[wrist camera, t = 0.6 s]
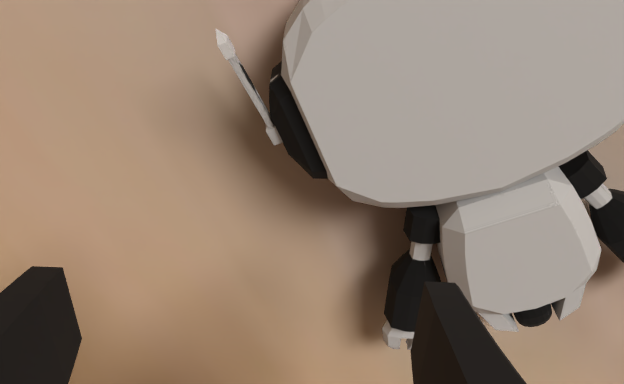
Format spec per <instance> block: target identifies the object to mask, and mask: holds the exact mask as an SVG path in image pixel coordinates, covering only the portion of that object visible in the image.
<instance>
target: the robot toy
mask: <svg viewBox="0 0 624 384" xmlns="http://www.w3.org/2000/svg"><path fill="white" fill-rule="evenodd" d="M216 36H217V44H218V47H219V49H220V51H221V52H222V54H223V56H224V57H225V59H226V60H229V62H230V64H231V65H232V67H233V69H234V71H235V72H236V74H237V76H238V77H239V79H240V81H241V82H242V84H243V86H244V87H245V89H246V91H247V93H248V94H249V96H250V98H251V99H252V101H253V103H254V104H255V106H256V108H257V110H258V111H259V113H260V115H261V116H262V118H263V120H264V121H265V123H266V133H267V134H268V136H269V138H270V139H271V141H272V143H273V144H274V145H277V144H280V143H282V142H283V143H284V146H285V148H286V150H287V152H288V154H289V155H290V156H291V157H292V158H293V159H294V160H295V161H296V162H297V163H298V164H299V165H300V166H301V167H302V168H303V169H304V170H305V171H306V172H307V173H308V174H309V175H310V176H311V177H312V178H324V179H329V180H330V181H331V182H332V183H333V184H334V185H336V186H337V187H338V188H339V189H340V190H341V191H342V192H343V193H344V194H346V195H347V196H348V197H349V198H350V199H351V200H352V201H355V202H360V203H365V204H370V205H374V206H379V207H384V208H406V207H407V211H406V217H405V223H404V229H403V231H404V232H405V234H406V235H407V237H408V239H409V240H410V241H412V242H411V248H410V249H409V250H408V251H407V252H406V253H404V254H403V255H402V256H401V257H400V258H399V259H398V260H397V261H396V262H395V263H394V264H393V265H392V268H391V273H390V278H389V284H388V291H387V297H386V304H385V310H384V314H385V316H386V318H387V321H386V322H385V324H384V326H383V328H382V332H383V339H384V341H385V343H386V344H387V345H388V347H390V348H393V349H400V341H401V338H407V340H406V343H407V349H409V350H411V347H412V342H413V337H414V332H415V327H416V322H417V317H418V312H419V307H420V302H421V297H422V292H423V287H424V282H441V280H440V277H439V274H438V272H437V269H436V266H435V264H434V262H433V259H432V257H431V250H432V245H433V244H435V243H437V247H438V251H439V255H440V259H441V262H442V265H443V269H444V272H445V276H446V279H447V282H449V283H456V284H457V285H458V286H459V288H460V289H461V291H462V292H463V294H464V296H465V297H466V299H467V300H468V302H469V303H470V305H471V307H472V308H473V310H474V311H475V312H477V313H479V314H480V315H481V316H482V317H483V318H484V319H485V320H486V321H487V322H488V323H489V324H490V325H491V326H492V327H493V328H494V329H495V330H503V331H517V332H519V330H518V328H517V326H516V323H515V321H514V318H513V316H512V313H514V315H515V318H516V319H517V321H518V322H519V324H521V325H523V326H528V327H534V326H539V325H541V324H544V323H545V322H546V321H548V320H549V318H550V317H551V315H552V309H551V305H552V307H553V309H554V311H555V313H556V315H557V317H558V319H559V320H561V319H563V318H564V317H566V316H567V315H569V314H570V313H572V312H573V311H575V310H576V309H578V308H579V307H580V304H581V300H582V297H583V293H584V289H585V286H586V282H587V281H588V280H589V279H590V278H591V276H592V275H593V274H594V273H595V271H596V270H597V266H598V262H599V258H600V254H601V247H600V244H599V241H598V238H599V239H600V240H601V241H602V242H603V243H604V244H605V245H606V246H607V247H608V248H609V249H610V250H611V251H612V252H613V253H614V254H615V255H616V256H617V257H618V258H619V259H620V260H621V261H622V262H624V191H619V190H615V189H607V187H606V186H605V185H604V184H603V182H604V181H605V180H606V179H607V178H606V175H605V172H604V169H603V166H602V165H601V164H600V163H599V162H598V161H597V160H596V159H595V158H594V157H593V156H592V155H591V154H590V153H589V151H588V150H589V149H590V148H592V147H594V146H595V145H597V144H599V143H600V142H602V141H603V140H604V139H606V138H607V137H609V136H610V135H611V134H613V133H614V132H616V131H617V130H618V129H619V128H620V127H621V126H622V125H623V124H624V0H299V2H298V4H297V5H296V7H295V9H294V10H293V12H292V14H291V15H290V17H289V19H288V20H287V22H286V26H285V32H284V37H283V48H282V61H281V62H280V63H279V64H278V65H277V66H276V67H274V68H273V70H272V75H271V80H270V87H269V104H270V113H269V111H268V110H267V108H266V106H265V104H264V103H263V101H262V99H261V97H260V96H259V94H258V92H257V90H256V89H255V87H254V85H253V83H252V82H251V80H250V78H249V76H248V75H247V73H246V71H245V69H244V68H243V66H242V64H241V62H240V61H239V59H238V57H237V55H236V54H235V48H234V46H233V45H232V43H231V41H230V39H229V38H228V36H227V34H225V33H223V32H221V31H219V30H217V29H216ZM582 198H584V199H585V200H586V201H587V202H588V203H589V204H590V213H591V219H590V217H589V215H588V213H587V211H586V209H585V207H584V204H583V202H582V201H581V199H582ZM591 220H592V222H591ZM592 223H593V224H592ZM597 237H598V238H597ZM550 303H551V304H550Z"/></svg>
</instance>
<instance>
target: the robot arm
mask: <svg viewBox="0 0 624 384" xmlns="http://www.w3.org/2000/svg"><path fill="white" fill-rule="evenodd" d="M81 339H82V337H81V334H80V330H79V326H78V323H77V319H76V315H75V312H74V308H73V304H72V300H71V297H70V293H69V289H68V286H67V282H66V278H65V275H64V271H63V268H60V267H34V266H32V267H31V268H29V269H28V270H27V271H26V272H24V273H23V274H22V275H21V276H20V277H18V278H17V279H16V280H15V281H14V282H13V283H11V284H10V285H9V286H8V287H7V288H6V289H4V290H3V291H2V292H1V293H0V384H68V382H69V379H70V376H71V373H72V370H73V367H74V363H75V360H76V357H77V353H78V350H79V346H80V343H81ZM411 360H412V372H413V383H414V384H526V382H525V381H524V380H523V379H522V377H521V376H520V375H519V373H518V372H517V371H516V369H515V368H514V367H513V365H512V364H511V363H510V361H509V360H508V359H507V357H506V356H505V354H504V353H503V352H502V350H501V349H500V348H499V346H498V345H497V343H496V342H495V341H494V339H493V338H492V336H491V335H490V333H489V332H488V331H487V329H486V328H485V326H484V325H483V323H482V322H481V320H480V319H479V317H478V316H477V314H476V313H475V311H474V310H473V308H472V307H471V305H470V303H469V302H468V300H467V299H466V297H465V296H464V294H463V292H462V291H461V289H460V288H459V286H458V285H457V284H456V283H449V282H424V287H423V292H422V297H421V302H420V307H419V312H418V317H417V322H416V327H415V332H414V337H413V342H412V347H411Z"/></svg>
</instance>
